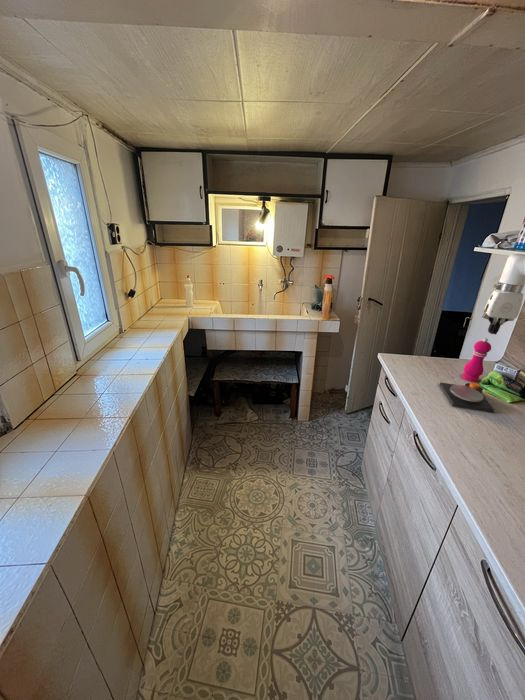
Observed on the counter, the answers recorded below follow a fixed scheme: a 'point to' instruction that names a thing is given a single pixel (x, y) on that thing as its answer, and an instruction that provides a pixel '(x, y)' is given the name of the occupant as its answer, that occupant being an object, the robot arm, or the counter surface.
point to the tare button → (474, 385)
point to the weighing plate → (466, 393)
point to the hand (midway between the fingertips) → (492, 333)
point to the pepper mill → (476, 361)
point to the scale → (459, 402)
